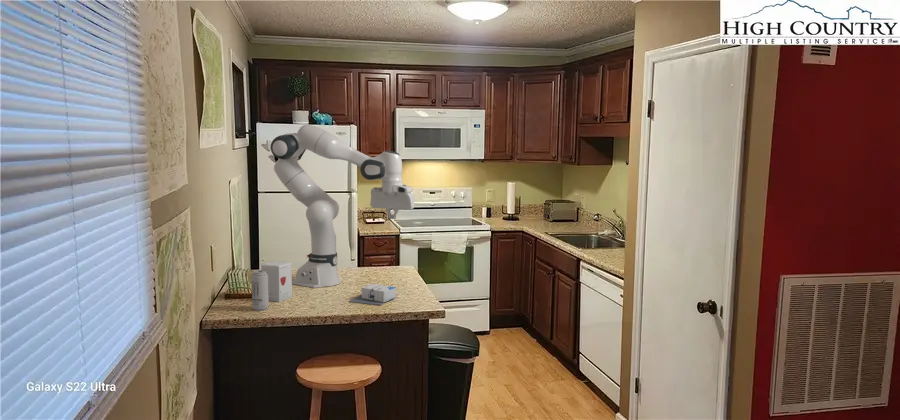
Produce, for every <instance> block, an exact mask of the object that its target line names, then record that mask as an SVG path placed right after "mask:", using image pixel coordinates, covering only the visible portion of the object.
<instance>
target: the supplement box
mask: <svg viewBox="0 0 900 420" xmlns="http://www.w3.org/2000/svg"><path fill="white" fill-rule="evenodd" d="M260 267H261V269H260V270H265V271H266V273H267V275H268V298H269V302H277V303H280V302H283V301H285V300H288V299H290V298H292V297H293V284H292V280H293V276H292V275H293V274H292V271H293V270H292V262H291V261H281V260H272V261H270V262H266V263H262V264H260Z"/></svg>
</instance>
